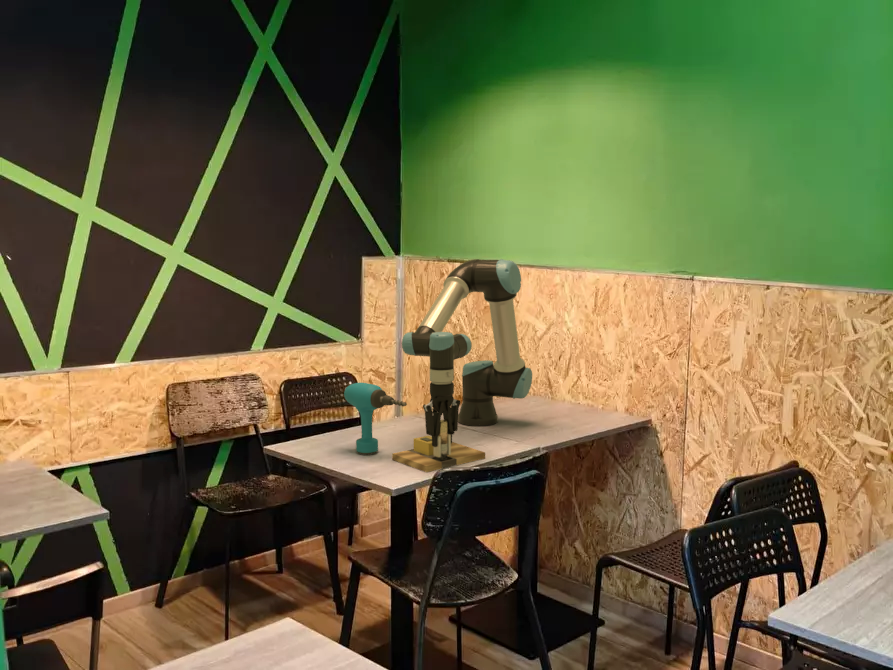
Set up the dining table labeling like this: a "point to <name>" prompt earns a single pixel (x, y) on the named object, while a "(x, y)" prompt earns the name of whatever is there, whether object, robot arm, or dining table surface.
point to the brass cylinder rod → (443, 439)
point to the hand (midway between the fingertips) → (442, 454)
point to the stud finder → (424, 445)
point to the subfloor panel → (431, 463)
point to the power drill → (368, 411)
